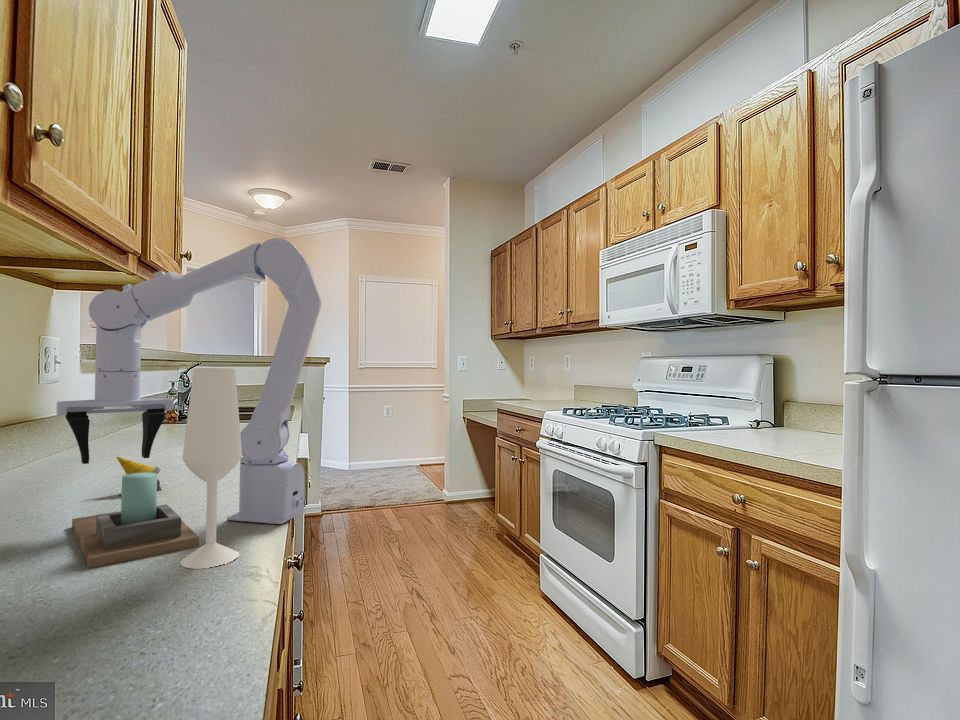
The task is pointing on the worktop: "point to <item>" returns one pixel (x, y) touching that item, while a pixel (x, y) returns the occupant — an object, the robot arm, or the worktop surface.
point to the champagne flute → (212, 450)
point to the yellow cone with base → (138, 468)
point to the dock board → (131, 536)
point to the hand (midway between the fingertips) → (116, 459)
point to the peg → (138, 497)
